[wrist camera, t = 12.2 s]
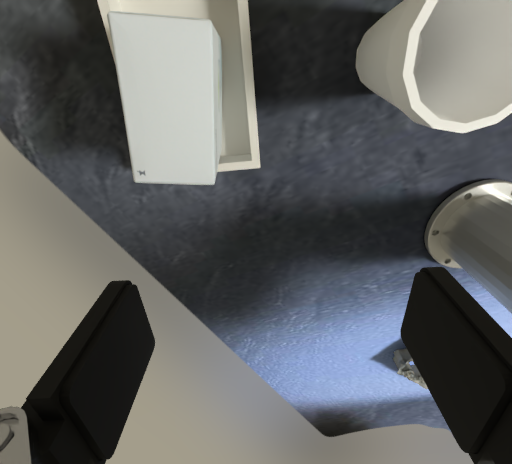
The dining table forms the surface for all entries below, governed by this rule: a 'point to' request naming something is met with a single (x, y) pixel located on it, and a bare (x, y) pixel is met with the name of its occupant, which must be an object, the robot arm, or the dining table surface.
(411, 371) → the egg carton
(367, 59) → the foam cup
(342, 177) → the dining table surface
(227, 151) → the trough
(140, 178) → the skincare box
